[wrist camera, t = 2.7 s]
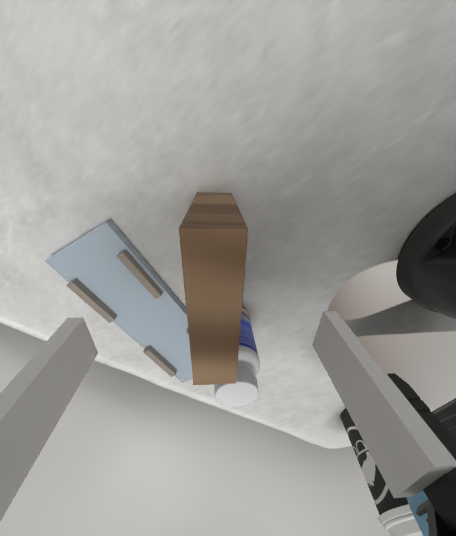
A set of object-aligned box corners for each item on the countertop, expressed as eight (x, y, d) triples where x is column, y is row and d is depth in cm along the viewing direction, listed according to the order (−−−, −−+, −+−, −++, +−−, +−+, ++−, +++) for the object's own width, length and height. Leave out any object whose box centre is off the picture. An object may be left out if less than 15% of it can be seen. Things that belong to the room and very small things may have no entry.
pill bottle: (203, 308, 26) (197, 384, 17) (245, 299, 25) (260, 371, 17) (214, 338, 28) (214, 416, 20) (253, 329, 28) (269, 405, 19)
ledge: (110, 218, 20) (101, 224, 18) (228, 358, 30) (229, 369, 29) (51, 256, 21) (38, 264, 20) (183, 376, 32) (181, 387, 30)
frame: (196, 192, 19) (177, 228, 9) (231, 193, 19) (247, 228, 10) (201, 296, 25) (192, 385, 15) (228, 295, 25) (236, 383, 15)
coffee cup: (346, 429, 43) (403, 547, 30) (323, 414, 40) (377, 540, 27) (389, 411, 41) (472, 532, 27) (368, 392, 37) (453, 522, 24)
